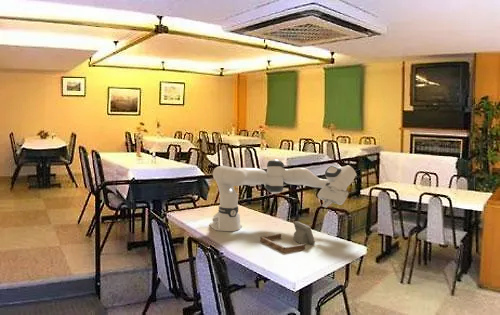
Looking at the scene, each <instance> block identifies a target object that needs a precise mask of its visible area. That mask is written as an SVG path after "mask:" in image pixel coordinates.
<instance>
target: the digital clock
mask: <svg viewBox="0 0 500 315" xmlns="http://www.w3.org/2000/svg"><path fill="white" fill-rule="evenodd" d="M293 226H294V229H295V231H294V233H293V241H295V242H297V243H298V244H299V245H301V244H304V245H309V244H310V245H315V243H316V242H315V241H316V240H315V237H314V234H313V231H312V228H311V226H309V225H307V224H305V223H302V222H300V221H298V220H295V221H294V222H293Z"/></svg>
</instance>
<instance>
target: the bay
mask: <svg viewBox="0 0 500 315" xmlns="http://www.w3.org/2000/svg"><path fill="white" fill-rule="evenodd" d="M259 238H260V242H261V243H263V244H265V245H266V246H269V247H272V248H273V249H276V250H278V251H280V252H282V253H283V254H286V253H293V252H297V251H302V250H303V251H304V250H305V249H306V244H298V245H297V244H295V245H291V246H283V245H281V244H279V243H277V242H276V240H281V239H282V234H281V233H277V234H271V235H270V234H269V235H264V236H259ZM273 240H274V241H273Z"/></svg>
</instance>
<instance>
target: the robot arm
mask: <svg viewBox="0 0 500 315" xmlns="http://www.w3.org/2000/svg"><path fill="white" fill-rule="evenodd" d="M286 167H287V166H286V164H284V162H283V161H282V160H279V159H276V158H275V159H271V160H269V161H268V162H267V163H266V170H264V169H262V168H258V167H257V168H256V167H232V166H227V165H220V166H216V167H215V168H214V169H213V172H212V177H213V180H214V181H215V182H216V184H217V187H218V191H219V206H218V212H217V213H216V214H214V215H213V217H212V222H209V226H210V227H211V228H212V229H213V230H214V231H218V232H219V231H221V232H235V231H239V230H240V229H241V228H243V225H242V224H241V214H240V213H239V206H238V204H239V203H238V202H239V200H238V199H239V198H238V197H239V196H238V195H239V194H238V193H237V191H236V190H235V187H238V186H239V187H241V186H258V185H264V188H265V189H266V190H267V192H269V193H271V194H279V193H282V192H283V190H284V183H285V184H287V185H295V186H296V185H297V186H298V185H299V186H300V185H301V186H305V187H306V186H307V187H311V188H315V189H320V190H319V191H318V193H317V195H316V196H317V197H318V199H319V200H322V201H323V202H322V204H321V206H322V207H323V208H328V207H329V206H330V205H332V204H335V205H338V206H339V205H340V206H342V205H343V204H345V201H346V200H347V199H348V198H347V197H348V196H349V191H348V190H347V189H348V187H349V186H350V185H351V184H352V183H353V181H354V179H355V178H356V175H357V171H356V170H355V169H354V168H353V167H352V166H351V165H348V164H347V165H344V166H337V165H331V166H329V167H327V168H326V170H325V172H324V176H325V178H326V179H325V178H320V177H318V176H317V175H315V174H314V173H313V172H312V171H311V170H310V169H308V168H306V167H293V168H286Z"/></svg>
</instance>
